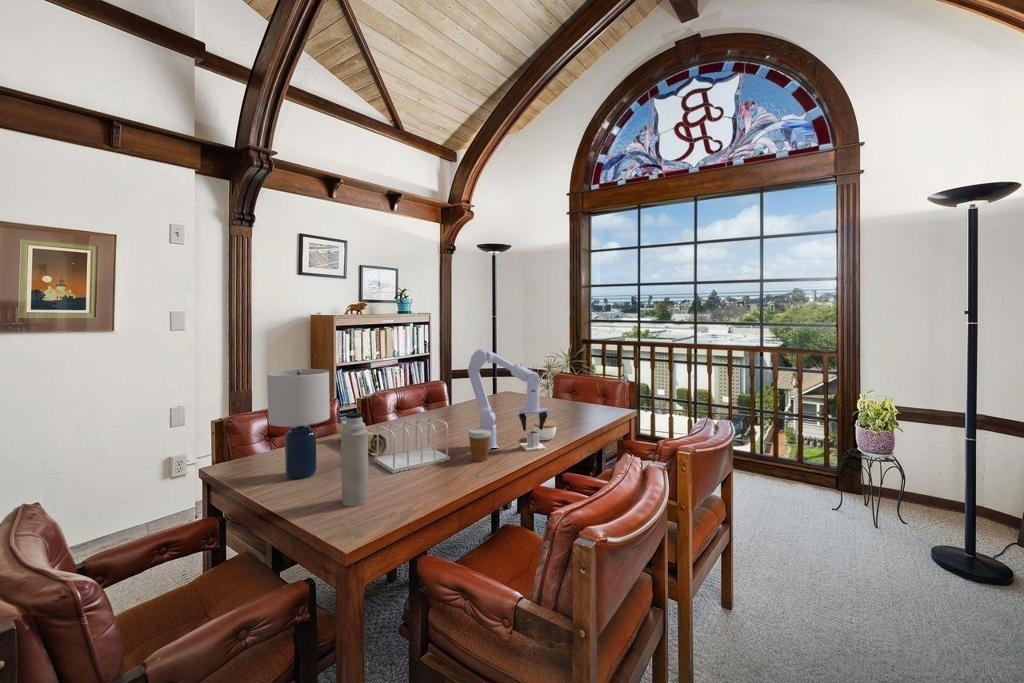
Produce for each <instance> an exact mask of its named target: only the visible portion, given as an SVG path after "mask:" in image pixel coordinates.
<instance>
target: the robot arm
mask: <svg viewBox="0 0 1024 683" xmlns="http://www.w3.org/2000/svg"><path fill="white" fill-rule="evenodd" d="M486 362H487V364H496V365H498V366H500V367H502V368H504V369H506V370H508V371H510V374H511V376H513V377H515V378H517V379H519V380H520V381H522V382H526V384H527V388H526V405H525V406H526V408H522V409H521V408H520V409H516V415H518V417H519V420H520V422H521V423H520V424H521V425H522V426H521V427H522V430H523V431H524V432H526V431H527V416H526V415H532V414H533V415H535V414H538V418H539V419H538V421H539V429H540V430H542V428H543V424H544V422H545V420H546V421H547V418H548V414H549V413H550V409H549V408H548V407H545V408H543V407H540V394H541V393H540V391H541V390H540V382H541V379H540V375H539V373H537V372H536V371H533V369H529V368H527V367H526V366H524V364H523V363H515V364H514V363H512V362H510V361H509V360H507V359H506V358H503V357H502V356H500V355H498V354H497V353H495V352H493V351H490V350H488V349H486V348H484V347H483V348H479V349H478V350H476V351H474V353H473V354H472V355H471V356H470V361H469V363H468V364H469V365H468V368H467V373H468V377H469V380H470V383H471V386H472V389H473V392H474V395H475V399H476V403H477V406H478V410H479V411H478V412H479V415H480V420H479V422H480V426H479V428H487V429H490V432H491V436H490V442H489V450H492V449H491V448H496V447H497V448H498V449H499V448H500V447H499V445H497V425H496V424H495V422H496V420H497V415H496V413H495V412H494V411H493V410H492V406H491V405H490V403H489V399H488V395H487V393H486V388H485V386H484V382H483V379H482V376H481V374H480V370H481V369H482V367H483V365H484V364H485V363H486Z"/></svg>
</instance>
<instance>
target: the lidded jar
mask: <svg viewBox="0 0 1024 683" xmlns="http://www.w3.org/2000/svg"><path fill="white" fill-rule="evenodd" d="M533 429H534V430H533V431H538V432H539V439H551V438H552V439H553V438H555V435H556V432H557V422H556V421H552V420H547V419H546V420H545V422H544V424H543V428H542V430H540V429H539V420H537V421H534V422H533ZM552 439H551V440H552Z"/></svg>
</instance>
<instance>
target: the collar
mask: <svg viewBox="0 0 1024 683" xmlns="http://www.w3.org/2000/svg"><path fill="white" fill-rule="evenodd" d="M539 442H540V440H539V432H538V431H534V430H528V431H527V432H526V443H527V446H528V447H539Z"/></svg>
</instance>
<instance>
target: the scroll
mask: <svg viewBox="0 0 1024 683" xmlns="http://www.w3.org/2000/svg"><path fill="white" fill-rule="evenodd" d="M345 423H346V420H342V421H340V423H339V424H338V425H337V434H338V435H339V436H338V435H336V434H335V435H334V436H335V437H336V438H338V440H340V439H341V432H342V431H343V425H344V424H345ZM365 429H366V430H368V455H369V454H370V455H371V456H372V454H371V453H377V432H374V431H373V430H370V429H369V428H366V427H365ZM387 449H388V442H387V437H385V436H384V435H383V434H381V433H379V439H378V452H380V453H383V454H385V452H386V451H387ZM372 457H375V456H374V455H373V456H372Z"/></svg>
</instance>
